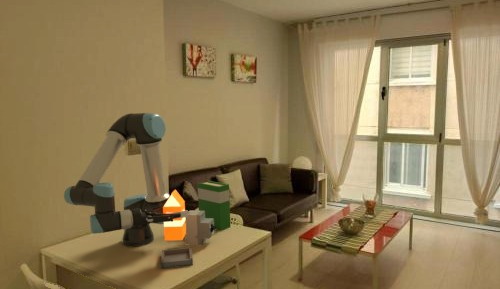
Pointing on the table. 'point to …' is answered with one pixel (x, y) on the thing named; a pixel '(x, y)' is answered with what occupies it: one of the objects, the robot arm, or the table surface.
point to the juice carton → (178, 226)
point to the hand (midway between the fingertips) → (184, 210)
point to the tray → (176, 257)
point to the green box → (215, 203)
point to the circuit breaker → (198, 227)
